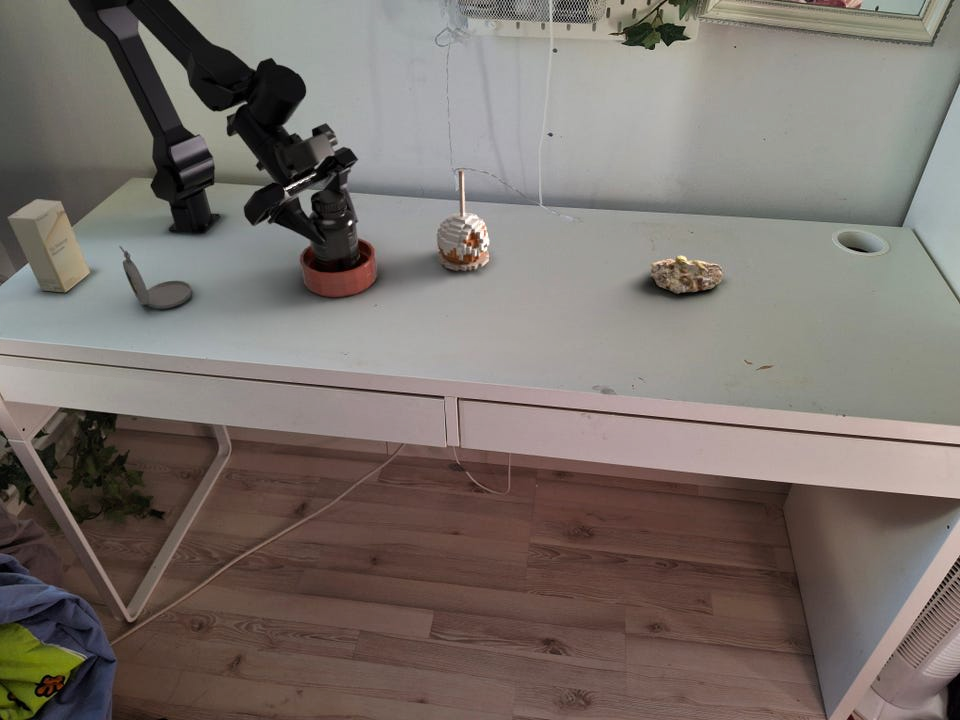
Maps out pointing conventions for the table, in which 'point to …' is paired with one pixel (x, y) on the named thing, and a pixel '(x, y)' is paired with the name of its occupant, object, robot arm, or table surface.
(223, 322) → the table surface
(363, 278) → the bowl
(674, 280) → the mineral rock
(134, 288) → the pocket watch
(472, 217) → the caramel apple
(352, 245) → the supplement bottle
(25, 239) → the cosmetic box
